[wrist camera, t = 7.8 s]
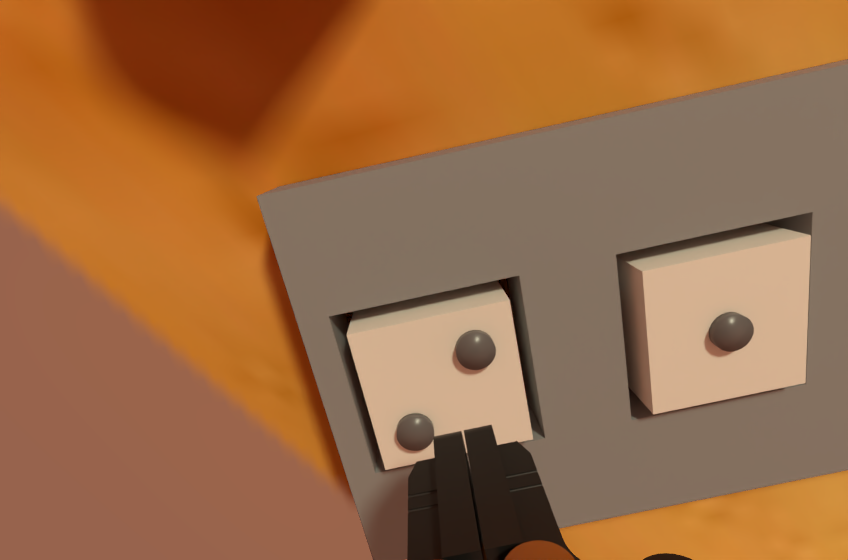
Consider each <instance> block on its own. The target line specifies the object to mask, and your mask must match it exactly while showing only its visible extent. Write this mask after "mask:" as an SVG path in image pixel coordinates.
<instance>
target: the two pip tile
mask: <svg viewBox="0 0 848 560" xmlns="http://www.w3.org/2000/svg"><path fill="white" fill-rule="evenodd" d="M347 339H348V342H349V345H350V349H351V352H352V356H353V359H354V363H355V366H356V370H357V373H358V377H359V380H360V384H361V387H362V390H363V394H364V397H365V401H366V404H367V408H368V411H369V415H370V418H371V422H372V425H373V429H374V432H375V435H376V439H377V442H378V446H379V449H380V453H381V456H382V460H383V463H384V467H385V470H388V469H392V468H397V467H402V466H407V465H412V464H415V463H416V462H417V461H422V460H427V459H432V458H435V456H434V442H433V437H434V436H438V435H443V434H448V433H453V432H458V431H462V435H463V440H464V444H465V448H466V453H468V452H467V447H466V441H465V435H464V430H467V429H472V428H477V427H482V426H487V425H492V428H493V431H494V435H495V439H496V442H497V445H500V444H505V443H510V442H515V441H518V442H523V441H527V440H532V439H533V435H532V429H531V423H530V417H529V411H528V405H527V399H526V393H525V387H524V382H523V376H522V370H521V364H520V358H519V352H518V346H517V340H516V334H515V328H514V322H513V317H512V311H511V305H510V300H509V298H508V297H507V295H506V293H505V292H504V290H503V289H502V287H501V286H500V284H499V282H498V281H497V280H496V281H491V282H487V283H482V284H477V285H473V286H468V287H463V288H459V289H454V290H450V291H445V292H440V293H436V294H431V295H426V296H422V297H417V298H413V299H408V300H403V301H399V302H394V303H389V304H385V305H380V306H376V307H371V308H366V309H362V310H357V311H353V314H352V318H351V321H350V325H349V328H348V332H347Z"/></svg>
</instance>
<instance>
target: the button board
mask: <svg viewBox="0 0 848 560" xmlns="http://www.w3.org/2000/svg"><path fill="white" fill-rule="evenodd" d="M257 199H258V202H259V206H260V209H261V212H262V215H263V218H264V221H265V224H266V227H267V230H268V234H269V237H270V240H271V243H272V246H273V249H274V252H275V255H276V259H277V262H278V265H279V268H280V271H281V274H282V277H283V280H284V283H285V287H286V290H287V293H288V296H289V299H290V302H291V305H292V308H293V311H294V315H295V318H296V321H297V324H298V327H299V330H300V333H301V336H302V339H303V343H304V346H305V349H306V352H307V355H308V358H309V361H310V364H311V367H312V371H313V374H314V377H315V380H316V383H317V386H318V389H319V392H320V396H321V399H322V402H323V405H324V408H325V411H326V414H327V417H328V420H329V424H330V427H331V430H332V433H333V436H334V439H335V442H336V445H337V448H338V452H339V455H340V458H341V461H342V464H343V467H344V470H345V473H346V476H347V480H348V483H349V486H350V489H351V492H352V495H353V498H354V501H355V505H356V508H357V511H358V514H359V517H360V520H361V523H362V526H363V529H364V532H365V536H366V539H367V542H368V545H369V548H370V551H371V554H372V557H373V560H405V559H407V546H408V477H409V475H410V473H411V471H412V469H413V467H414V465H415V464H412V465H407V466H402V467H397V468H392V469H388V470H385V467H384V463H383V460H382V456H381V453H380V449H379V446H378V442H377V439H376V435H375V432H374V429H373V425H372V422H371V418H370V415H369V411H368V408H367V404H366V401H365V397H364V394H363V390H362V387H361V384H360V380H359V377H358V373H357V370H356V366H355V363H354V359H353V356H352V352H351V349H350V345H349V342H348V339H347V332H348V328H349V323H348V319H347V316H346V313H348V312H352V311H357V310H362V309H366V308H371V307H376V306H380V305H385V304H389V303H394V302H399V301H403V300H408V299H413V298H417V297H422V296H426V295H431V294H436V293H440V292H445V291H450V290H454V289H459V288H463V287H468V286H473V285H477V284H482V283H487V282H491V281H496V280H500V279H505V278H507V282H508V288H509V294H510V300H511V306H512V312H513V318H514V324H515V330H516V336H517V342H518V348H519V353H520V359H521V365H522V371H523V377H524V383H525V389H526V395H527V405H528V411H529V417H530V423H531V429H532V435H533V439H532V440H527V441H523V442H519V443H520V444H521V445H522V446H523V447H524V448H526V449H527V450H528V451H529V452H530V453H531V455H532V458H533V460H534V463H535V466H536V468H537V472H538V474H539V476H540V479H541V482H542V485H543V487H544V490H545V493H546V495H547V498H548V501H549V503H550V506H551V509H552V511H553V514H554V517H555V519H556V522H557V525H558V527H559V528H563V527H568V526H573V525H578V524H583V523H588V522H593V521H598V520H603V519H608V518H613V517H617V516H622V515H627V514H632V513H637V512H642V511H647V510H652V509H657V508H662V507H667V506H672V505H677V504H682V503H687V502H692V501H697V500H702V499H707V498H711V497H716V496H721V495H726V494H731V493H736V492H741V491H746V490H751V489H756V488H761V487H766V486H771V485H776V484H781V483H786V482H791V481H796V480H800V479H805V478H810V477H815V476H820V475H825V474H830V473H835V472H840V471H845V470H848V59H847V60H843V61H838V62H834V63H829V64H825V65H820V66H816V67H812V68H807V69H803V70H798V71H794V72H789V73H785V74H780V75H776V76H771V77H767V78H762V79H758V80H754V81H749V82H745V83H740V84H736V85H731V86H727V87H722V88H718V89H713V90H709V91H704V92H700V93H695V94H691V95H687V96H682V97H678V98H673V99H669V100H664V101H660V102H655V103H651V104H646V105H642V106H637V107H633V108H628V109H624V110H620V111H615V112H611V113H606V114H602V115H597V116H593V117H588V118H584V119H579V120H575V121H570V122H566V123H561V124H557V125H553V126H548V127H544V128H539V129H535V130H530V131H526V132H521V133H517V134H512V135H508V136H503V137H499V138H495V139H490V140H486V141H481V142H477V143H472V144H468V145H463V146H459V147H454V148H450V149H445V150H441V151H436V152H432V153H428V154H423V155H419V156H414V157H410V158H405V159H401V160H396V161H392V162H387V163H383V164H378V165H374V166H369V167H365V168H361V169H356V170H352V171H347V172H343V173H338V174H334V175H329V176H325V177H320V178H316V179H311V180H307V181H303V182H298V183H294V184H289V185H285V186H280V187H277V188H275V189H273V190H270V191H268V192H265V193H263V194H261V195H258V196H257ZM759 223H764V224H768V225H772V226H776V227H780V228H784V229H788V230H792V231H796V232H800V233H804V234H808V235H811V248H810V275H809V302H808V329H807V356H806V382H805V383H803V384H798V385H793V386H788V387H783V388H779V389H774V390H769V391H764V392H759V393H755V394H750V395H745V396H740V397H735V398H730V399H726V400H721V401H716V402H711V403H706V404H701V405H697V406H692V407H687V408H682V409H677V410H673V411H668V412H663V413H658V414H652V412H651V411H650V410H649V409H648V408H647V407H646V406H645V405H644V403H643V402H642V401H641V400H640V399H639V398H638V397H637V396H636V394H635V393H634V392H633V391H632V390H631V389H630V388H629V387H628V378H627V367H626V356H625V346H624V335H623V324H622V313H621V302H620V292H619V281H618V270H617V259H616V254H621V253H625V252H630V251H634V250H639V249H644V248H648V247H653V246H658V245H662V244H667V243H671V242H676V241H681V240H685V239H690V238H695V237H699V236H704V235H708V234H713V233H718V232H722V231H727V230H732V229H736V228H741V227H745V226H750V225H755V224H759ZM467 457H468V453H467ZM468 461H469V458H468ZM469 466H470V464H469Z"/></svg>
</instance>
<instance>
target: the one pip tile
mask: <svg viewBox="0 0 848 560" xmlns="http://www.w3.org/2000/svg"><path fill="white" fill-rule="evenodd" d="M810 248H811V235H808V234H804V233H800V232H796V231H792V230H788V229H784V228H780V227H776V226H772V225H768V224H764V223H759V224H755V225H750V226H745V227H741V228H736V229H732V230H727V231H722V232H718V233H713V234H708V235H704V236H699V237H695V238H690V239H685V240H681V241H676V242H671V243H667V244H662V245H658V246H653V247H648V248H644V249H639V250H634V251H630V252H625V253H621V254H616V259H617V270H618V281H619V292H620V302H621V313H622V324H623V335H624V346H625V356H626V367H627V378H628V387H629V388H630V389H631V390H632V391H633V392H634V393H635V394H636V396H637V397H638V398H639V399H640V400H641V401H642V402H643V403H644V405H645V406H646V407H647V408H648V409H649V410H650V411H651V412H652V414H658V413H663V412H668V411H673V410H677V409H682V408H687V407H692V406H697V405H701V404H706V403H711V402H716V401H721V400H726V399H730V398H735V397H740V396H745V395H750V394H755V393H759V392H764V391H769V390H774V389H779V388H783V387H788V386H793V385H798V384H803V383H805V382H806V356H807V329H808V302H809V275H810Z"/></svg>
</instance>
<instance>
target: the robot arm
mask: <svg viewBox="0 0 848 560" xmlns="http://www.w3.org/2000/svg"><path fill="white" fill-rule="evenodd" d="M464 435H465V441H466V447H467V452H468V457H467V453H466V448H465V444H464V440H463V435H462V431H458V432H453V433H448V434H443V435H438V436H434V437H433V442H434V456H435V458H432V459H427V460H422V461H417V462H416V463H415V465H414V467H413V469H412V471H411V473H410V475H409V477H408V546H407V560H580V559H579V558H577V557H576V556H575V555H574V554H573V553H572V552H571V551H570V550H569V549H568V547H567V546H566V544H565V542H564V540H563V538H562V535H561V533H560V530H559V527H558V525H557V522H556V519H555V517H554V514H553V511H552V509H551V506H550V503H549V501H548V498H547V495H546V493H545V490H544V487H543V485H542V482H541V479H540V476H539V474H538V472H537V468H536V466H535V463H534V460H533V458H532V455H531V453H530V452H529V451H528V450H527V449H526V448H524V447H523V446H522V445H521V444H520V443H519V442H518V441H515V442H510V443H505V444H500V445H497V442H496V439H495V435H494V431H493V428H492V425H487V426H482V427H477V428H472V429H467V430H464ZM468 458H469V461H468ZM469 464H470V466H469ZM643 560H692V559H690V558H687V557H684V556H681V555H676V554H667V553H664V554H656V555H652V556H649V557H647V558H645V559H643Z"/></svg>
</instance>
